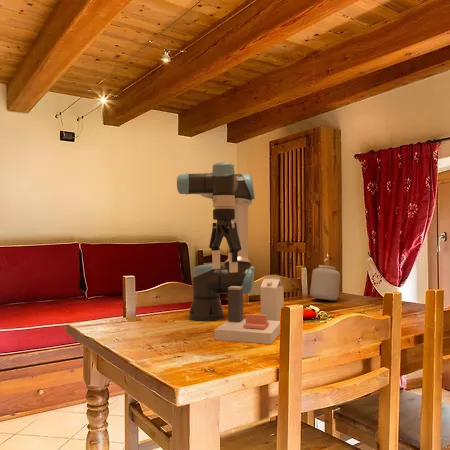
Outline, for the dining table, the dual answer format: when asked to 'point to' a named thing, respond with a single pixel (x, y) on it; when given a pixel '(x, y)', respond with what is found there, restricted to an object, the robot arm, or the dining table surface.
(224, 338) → the socket plate
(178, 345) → the dining table surface
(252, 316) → the salmon red stepped block
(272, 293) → the milk carton
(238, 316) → the plug
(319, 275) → the jar
